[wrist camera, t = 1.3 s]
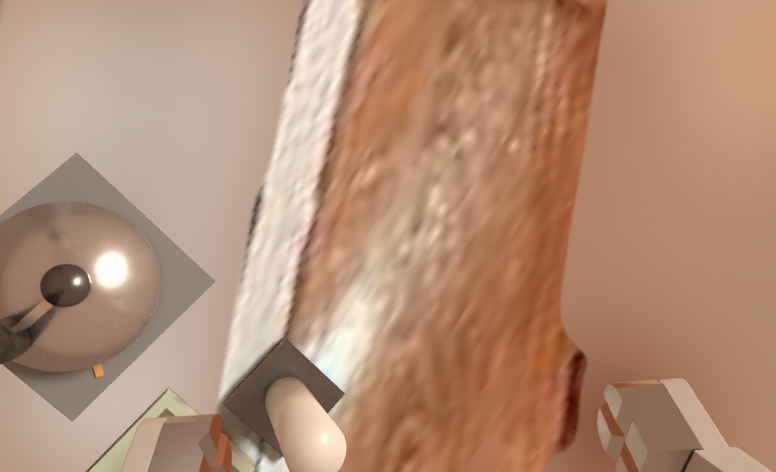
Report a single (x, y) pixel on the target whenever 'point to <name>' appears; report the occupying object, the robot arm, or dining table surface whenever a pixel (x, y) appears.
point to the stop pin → (303, 428)
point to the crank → (73, 286)
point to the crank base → (177, 295)
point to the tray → (166, 405)
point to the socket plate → (275, 366)
